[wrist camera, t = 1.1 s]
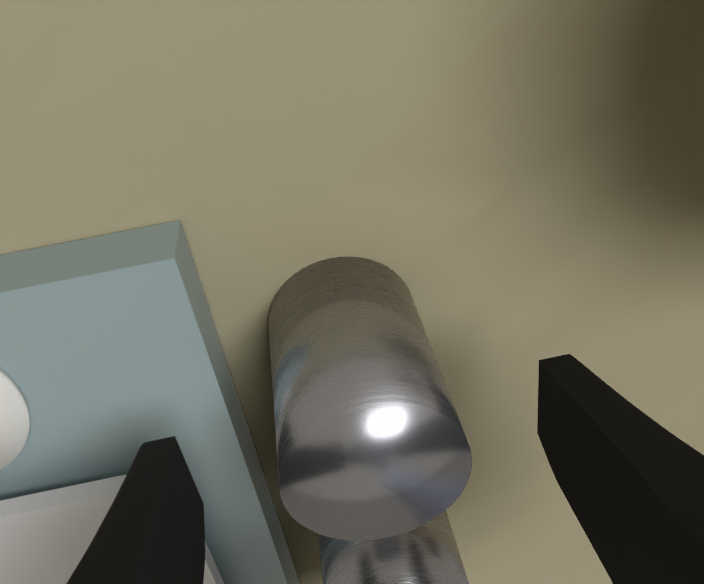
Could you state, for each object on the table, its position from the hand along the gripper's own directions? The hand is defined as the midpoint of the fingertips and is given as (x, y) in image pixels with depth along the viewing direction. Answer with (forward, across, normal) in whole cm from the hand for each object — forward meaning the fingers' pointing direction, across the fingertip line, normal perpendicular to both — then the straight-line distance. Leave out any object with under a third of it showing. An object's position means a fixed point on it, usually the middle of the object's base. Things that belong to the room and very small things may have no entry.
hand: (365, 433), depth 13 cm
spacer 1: (+4, 0, 0) cm, 4 cm away
